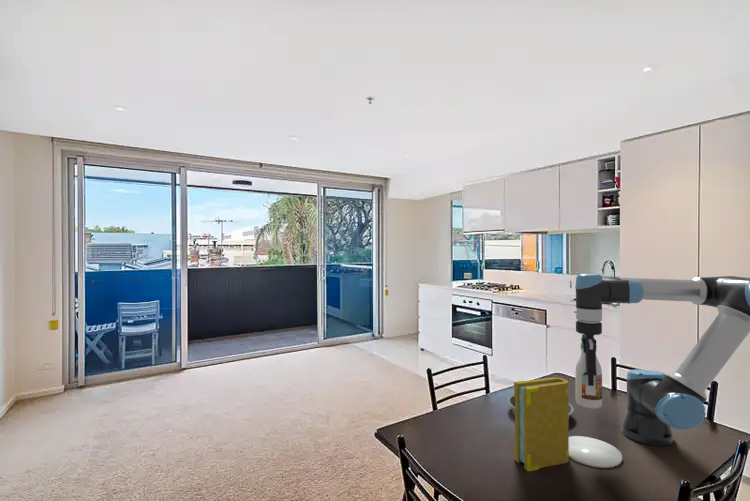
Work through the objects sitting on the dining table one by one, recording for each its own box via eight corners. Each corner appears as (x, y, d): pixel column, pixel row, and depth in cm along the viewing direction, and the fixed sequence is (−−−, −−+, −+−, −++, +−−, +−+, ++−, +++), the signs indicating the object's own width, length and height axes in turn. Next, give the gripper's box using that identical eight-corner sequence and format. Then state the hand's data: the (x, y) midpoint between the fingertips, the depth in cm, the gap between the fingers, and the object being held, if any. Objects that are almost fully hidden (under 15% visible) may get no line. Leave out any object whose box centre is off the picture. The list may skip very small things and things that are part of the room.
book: (528, 471, 118) (527, 389, 118) (514, 459, 125) (513, 381, 124) (574, 462, 123) (573, 383, 123) (558, 451, 129) (557, 376, 129)
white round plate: (616, 444, 133) (616, 441, 133) (627, 472, 117) (627, 469, 117) (558, 435, 140) (558, 432, 140) (561, 460, 124) (561, 457, 124)
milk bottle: (572, 404, 128) (571, 343, 128) (580, 397, 134) (579, 339, 134) (598, 411, 123) (597, 347, 123) (605, 404, 128) (605, 343, 128)
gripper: (573, 315, 139) (573, 379, 139) (578, 326, 120) (579, 400, 120) (597, 316, 136) (597, 381, 136) (607, 327, 117) (607, 403, 117)
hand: (588, 390), depth 128 cm, fingers closed on milk bottle, 8 cm apart
